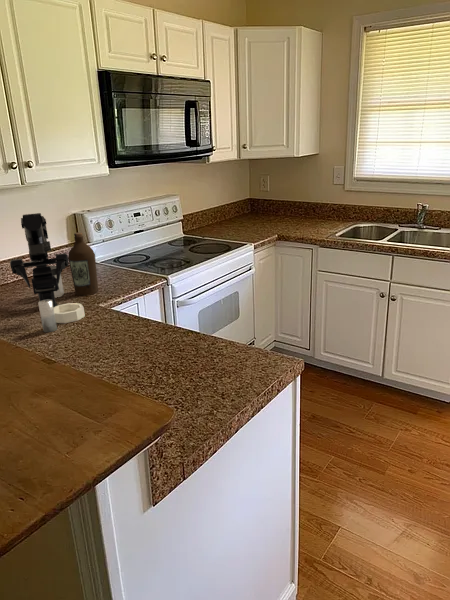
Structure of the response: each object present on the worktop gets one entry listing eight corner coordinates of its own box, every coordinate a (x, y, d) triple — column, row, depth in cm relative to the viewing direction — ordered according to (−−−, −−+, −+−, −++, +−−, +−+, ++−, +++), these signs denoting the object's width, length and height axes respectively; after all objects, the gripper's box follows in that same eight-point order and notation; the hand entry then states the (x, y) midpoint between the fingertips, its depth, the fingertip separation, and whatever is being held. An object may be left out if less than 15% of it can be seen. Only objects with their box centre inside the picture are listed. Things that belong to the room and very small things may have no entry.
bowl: (49, 316, 173) (47, 307, 172) (80, 310, 178) (78, 301, 177) (54, 325, 164) (53, 315, 163) (86, 318, 169) (85, 309, 168)
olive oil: (79, 289, 206) (70, 231, 198) (103, 288, 205) (95, 230, 197) (70, 296, 196) (60, 236, 188) (95, 295, 195) (86, 235, 187)
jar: (44, 300, 193) (39, 271, 189) (39, 296, 199) (34, 268, 196) (66, 295, 197) (62, 267, 194) (61, 291, 204) (56, 264, 200)
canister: (42, 329, 161) (37, 300, 158) (56, 326, 163) (50, 298, 160) (44, 333, 158) (39, 303, 154) (58, 330, 159) (53, 301, 156)
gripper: (4, 237, 158) (11, 279, 153) (63, 230, 164) (71, 271, 159) (9, 253, 168) (15, 293, 163) (64, 246, 174) (72, 284, 169)
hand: (44, 285), depth 163 cm, fingers open, 9 cm apart
